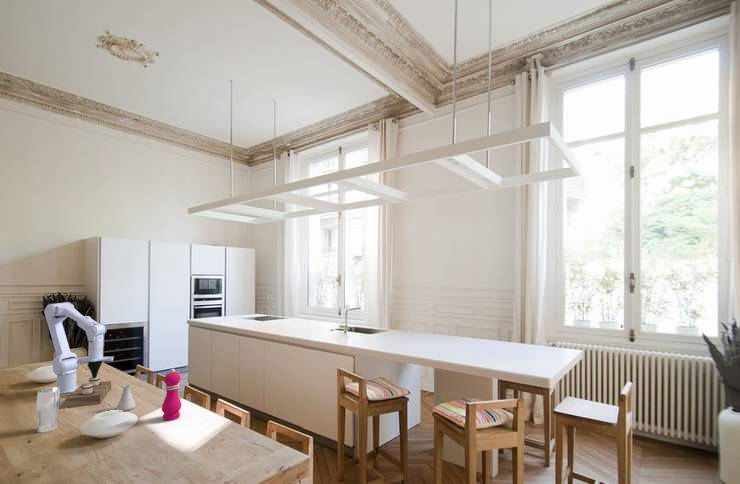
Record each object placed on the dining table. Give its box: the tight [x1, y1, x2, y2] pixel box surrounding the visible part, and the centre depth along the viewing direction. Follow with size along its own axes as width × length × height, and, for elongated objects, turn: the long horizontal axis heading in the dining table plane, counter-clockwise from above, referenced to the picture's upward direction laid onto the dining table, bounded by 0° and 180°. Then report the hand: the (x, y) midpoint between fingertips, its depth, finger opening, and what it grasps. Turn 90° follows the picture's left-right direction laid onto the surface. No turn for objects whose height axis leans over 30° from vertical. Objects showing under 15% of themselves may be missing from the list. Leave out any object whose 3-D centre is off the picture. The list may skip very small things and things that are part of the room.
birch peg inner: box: [88, 376, 101, 387], centre depth 185 cm, size 4×4×4 cm
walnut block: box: [66, 380, 112, 409], centre depth 179 cm, size 22×12×4 cm, turn 23°
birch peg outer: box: [82, 383, 94, 395], centre depth 174 cm, size 4×4×4 cm
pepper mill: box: [161, 368, 182, 422], centre depth 157 cm, size 7×7×20 cm
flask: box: [116, 384, 137, 412], centre depth 167 cm, size 7×7×10 cm
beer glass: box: [35, 386, 61, 434], centre depth 146 cm, size 7×7×15 cm
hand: (94, 377), depth 185 cm, fingers closed
